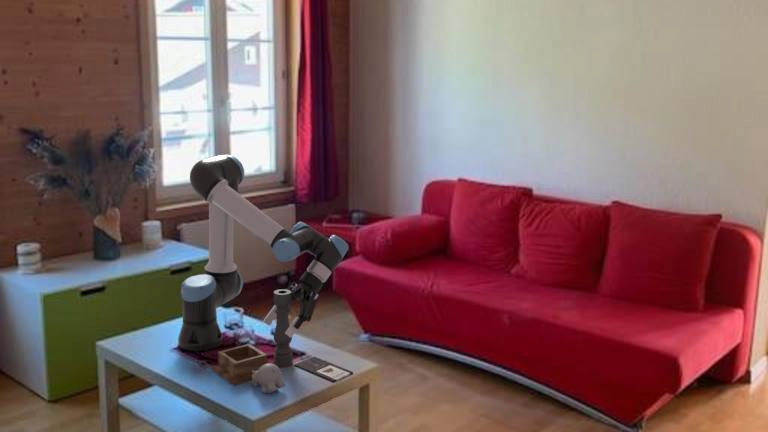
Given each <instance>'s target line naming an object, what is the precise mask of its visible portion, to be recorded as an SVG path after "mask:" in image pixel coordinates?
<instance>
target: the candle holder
mask: <svg viewBox="0 0 768 432" xmlns="http://www.w3.org/2000/svg"><path fill="white" fill-rule="evenodd" d="M273 299H274V302H275V305H276V307H277V308H276V309H275V313H276V314H277V316H276V325H275V330H274V332H273V333H274V334H273V341H274V342H275V344H276V345H275V346H276V347H275V348H274V351H273V352H274V353H273V364H275V365H276V366H278V368H288V367H290V366H292V365H293V352H292V350H293V349H292V348H291V346H290V344H291V342H292V340H293V336H292V337H291V338H290V337H289V336H288V335H286V334H285V332H286V331H287V329H288V328H289V326H290V325H291V324H290V322H289V321H290V319H289V318H290V316H289V315H290V313H291V310H292V309H291V308H290V306H291V303H292V302H291V291H290V290H287V289H286V288H285V289H284V288H283V289H276V290H273ZM274 302H273V303H274Z"/></svg>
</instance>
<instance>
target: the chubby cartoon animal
mask: <svg viewBox="0 0 768 432" xmlns="http://www.w3.org/2000/svg"><path fill="white" fill-rule="evenodd" d="M252 373H253V375H252V379H253V380H251V383H252V385H253V386H254V387H255V386H256V387H257V386H260V385H261V391H262V392H261V393H262V394H268V393H273V392H274V393H275V392H276V391H277V389H281V388H284V387H285V386H286V384H285V381H284V379H283V378H282V371H281V369H280V367H278V366H276V365H275V364H274V363H271V362H269V363H268V362H267V364H264V365H262V366H261V367H260V368H259V370H257V371H253V370H252Z"/></svg>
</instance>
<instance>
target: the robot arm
mask: <svg viewBox="0 0 768 432" xmlns="http://www.w3.org/2000/svg"><path fill="white" fill-rule="evenodd" d="M244 178H245V168H244V166H243V164H242V162H241V161H240V160H239V159H238V158H237V157H236V156H234V155H231V154H219V155H217V156H214V157H212V156H211V157H209V158H204V159H201V160H199V161H198V162H197V161H196V163H194V165H193V166H192V167H191V170H190V173H189V181H190V184H191V186H192V189H193V190H194V192H195V193H196V194H197V195H198V196H199V197H200V198H201V199H203V200H204V201H205V202H206V203H208V262H207V264H206V265H204V274H203V273H202V274H201V273H200V274H196V275H191V276H189V277H188V278H186V279H184V281H183V282H182V283H181V290H180V296H181V297H180V298H181V314H182V324H181V327H180V330H179V331H180V332H179V334H178V340H177V344H178V347H179V348H180V349H182V350H186V351H191V352H192V351H193V352H202V351H203V350H204V351H208V350H209V351H210V350H213V349H216V348H218V347H219V346H220V345H222V344H223V334H222V331H221V328H220V325H219V323H218V319H217V318H218V317H217V315H218V314H217V308H219V307H221V306H223V305H224V304H226V303H227V302H231V301H232V300H234V299H235V298H236V297H237V296H238V295H240V293H241V291H242V290H243V289H242V288H243V287H244V281H243V277H242V274H240V271H239V270H238V265H236V264H235V263H234V226H235V223H234V220H235V221H237V222H238V223H239V224H240V225H242V226H243V227H244V228H245V229H246V230H248V231H250V232H251V233H252V234H254V235H255V236H256V237H257V238H259V239H260V240H261V241H263V242H264V243H265V244H267V245H268V246H269V247H271V249H272V252H273V255H274V257H275V258H276V259H277V260H278V261H279V262H283V263H287V262H290V261H293V260H295V259H297V258H298V257H300V256H301V255H303V254H305V253H307V252H308V253H309V254H311V255H312V256H314V259H313V260H312V261H311V262H310V264H309V265H308V267H307V268H306V271H304V272H303V274H302V275H301V276H300V278H299V283H298V284H297V283H296V282H295V281H293V282H291V284H290V285H289V286H288V287H286V288H285V289H287V290H290V291H291V302H290V303H292V302H294V301H299V302H300V304H299V305H300V306H299V307H300V308H299V314H298V315H297V316H296V317H295V318H294V319H293V321H292V322H291V324H289V325H290V326H289V328H288V329H287V331H286V332H285V334H286V335H288V336H289V337H290V338H291V337H292V338H293V336H294V334H295V333H296V332H297V330H299V329H300V327H301V326H302V325H303V323H305V322H308V323H309V322H311V320H312V317H313V315H314V312H315V309H316V305H317V302H318V300H319V298H320V297H321V296H320V295H319V294H318V293H319V291H320V290H321V288H322V287H323V286H324V283H326V281H328V278H329V277H330V276H331V275H332V273H333V272H334V270H335V269H336V268H337V266H338V265H339V263H341V261H342V260H343V258H344V256H345V255H346V254H347V252H348V251H349V245H348V243H347V242H346V241H345V240H344V239H343V238H341V237H339V236H338V235H335V234H332V235H331V236H330V237H327V236H326V235H323V234H322V233H321V232H319V231H318V230H316V229H315V228H314V227H312V226H311V225H308V224H307V223H305V222H303V221H299V222H297V223H295V225H294V226H292V228H291V230H290V231H288V230H287V229H286V228H284V227H283V226H282V225H280V224H279V223H277V221H275V220H274V219H273V218H271V217H270V216H269V215H267V214H266V213H264V212H263V211H262V210H261V209H260V208H258V207H257V206H256V205H254V204H253V203H251V202H250V201H249V200H248V199H246V198H245V197H244V196H243V195H242V194H240V193H239V185H240V184H241V183H242V182H243V181H244ZM272 303H273V306H272V307H271V309H270V310H269V311H268V313H267V315H266V316H265V318H264V319H263V320H262V321H263V322H264V323H265V324H266V325H267V326H271V324H272V323H273V321H274V320H275V319H276V318H277V314H276V313H275V309H276V308H277V307H276V305H275V302H274V298H273V299H272ZM204 351H203V352H204Z"/></svg>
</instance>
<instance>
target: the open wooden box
mask: <svg viewBox="0 0 768 432" xmlns="http://www.w3.org/2000/svg"><path fill="white" fill-rule="evenodd" d="M217 363H218V364H215V365H212V370H213V372H215V373H216V374H217V375H219V376H220V377H222V378H223V379H224V380H226V381H227V382H229V384H231V385H232V386H237V385H242V384H244V383H247V382H252V380H253V379H252V375H253V373H252V370H253V371H257V370H259V368H260V367H261V366H262V365H264V364H267V363H268V354H267V353H265V352H263V351H262V350H260V349H258V347H256V346H254V345H252V344H250V343H246V344H243V345H239V346H235V347H231V348H228V349H224V350H220V351H217Z"/></svg>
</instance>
